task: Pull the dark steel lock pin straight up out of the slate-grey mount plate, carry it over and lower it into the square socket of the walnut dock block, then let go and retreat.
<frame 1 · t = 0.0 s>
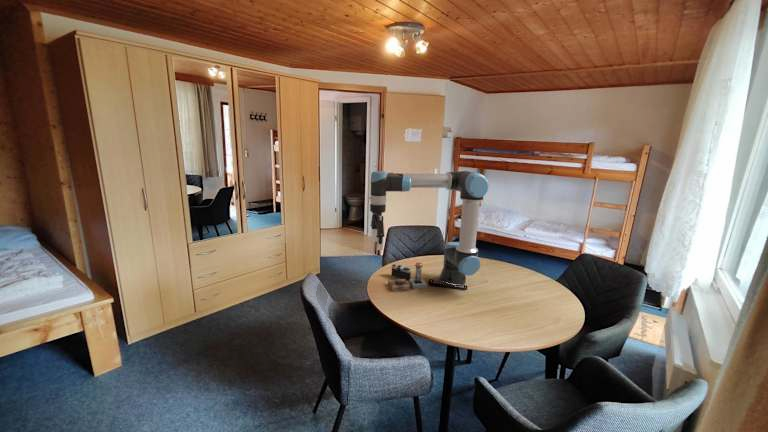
hand: (376, 245, 163), 28 cm above the table, fingers open, 13 cm apart
lock pin: (418, 275, 183), in the mount plate
mount plate: (417, 285, 184), on the table
camera: (402, 277, 196), on the table
dock block: (398, 287, 182), on the table
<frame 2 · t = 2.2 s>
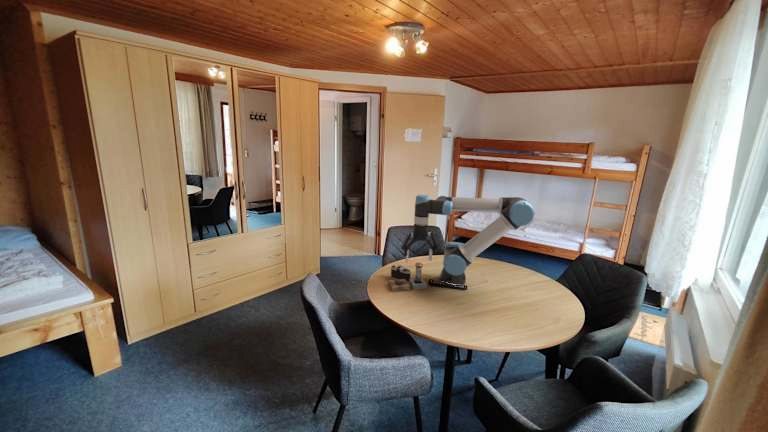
hand: (418, 260, 181), 15 cm above the table, fingers open, 13 cm apart
camera: (401, 278, 194), on the table
everything else where it was.
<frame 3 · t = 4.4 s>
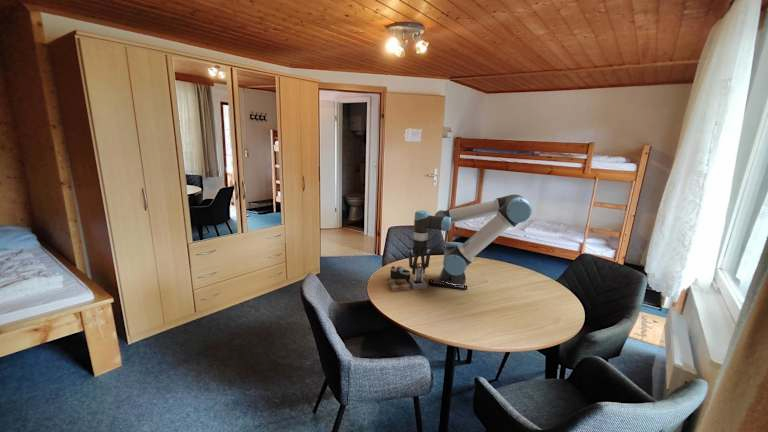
hand: (418, 279, 183), 4 cm above the table, fingers closed on lock pin, 3 cm apart
lock pin: (418, 275, 183), in the mount plate, touching gripper
camera: (401, 279, 193), on the table
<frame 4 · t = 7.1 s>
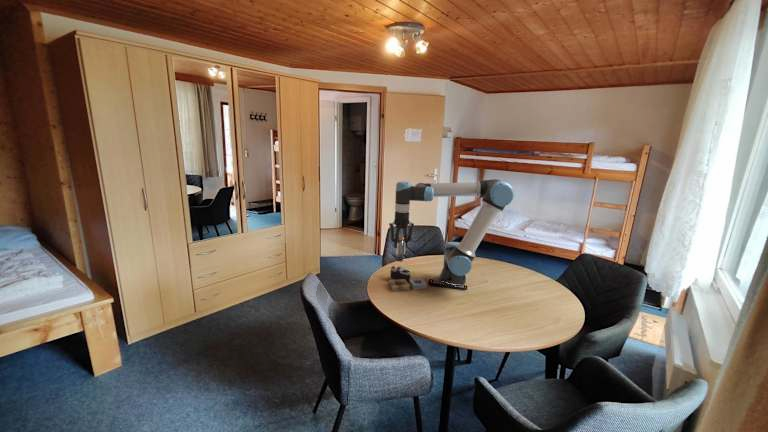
hand: (400, 253, 177), 20 cm above the table, fingers closed on lock pin, 3 cm apart
lock pin: (400, 248, 177), point 22 cm above the table, touching gripper
everything else where it was.
when the fingers open (5 cm above the table, at t = 10.2 s): lock pin stays where it is, resting in dock block.
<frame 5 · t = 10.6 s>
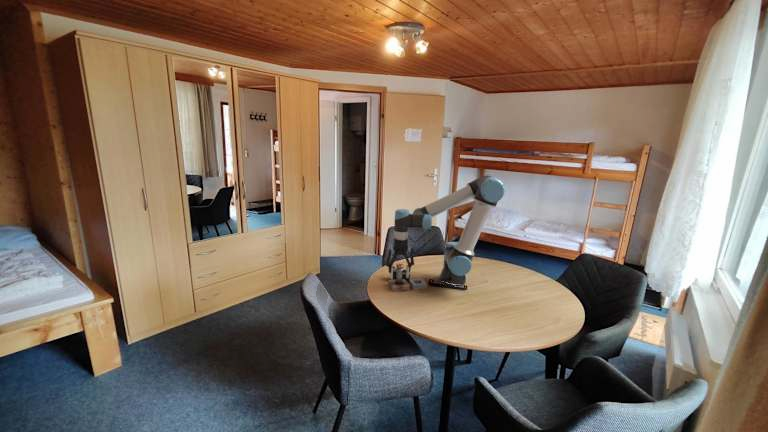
hand: (399, 277, 180), 6 cm above the table, fingers open, 8 cm apart
lock pin: (399, 276, 180), in the dock block
everything else where it was.
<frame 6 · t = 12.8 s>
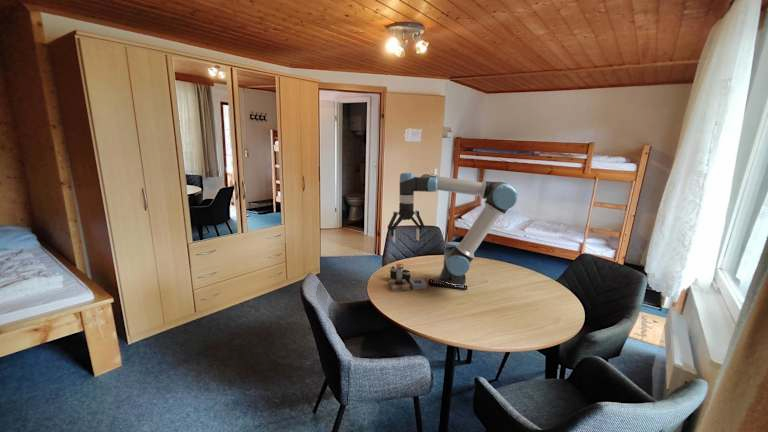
hand: (405, 241, 177), 26 cm above the table, fingers open, 13 cm apart
nothing on the table moved.
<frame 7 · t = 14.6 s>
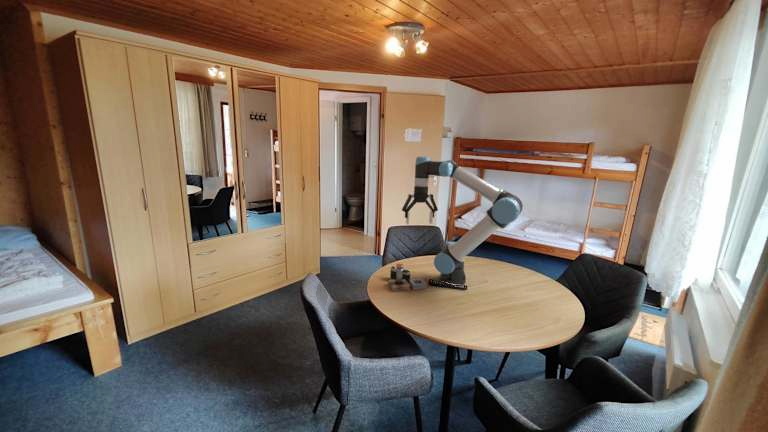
hand: (419, 223, 182), 35 cm above the table, fingers open, 13 cm apart
nothing on the table moved.
at the end: lock pin 0.0 cm off-centre on the dock block, point 6.6 cm above the dock block's base; lock pin tilted 0°; the gripper is holding nothing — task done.
